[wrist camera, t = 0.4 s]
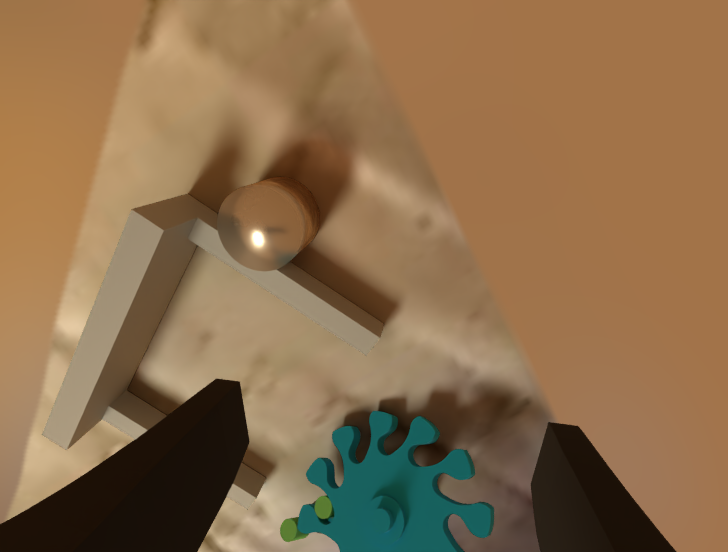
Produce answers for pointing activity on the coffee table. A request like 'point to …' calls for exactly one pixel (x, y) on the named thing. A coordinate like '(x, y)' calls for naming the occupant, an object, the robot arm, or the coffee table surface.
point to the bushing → (268, 223)
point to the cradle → (145, 310)
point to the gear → (388, 495)
